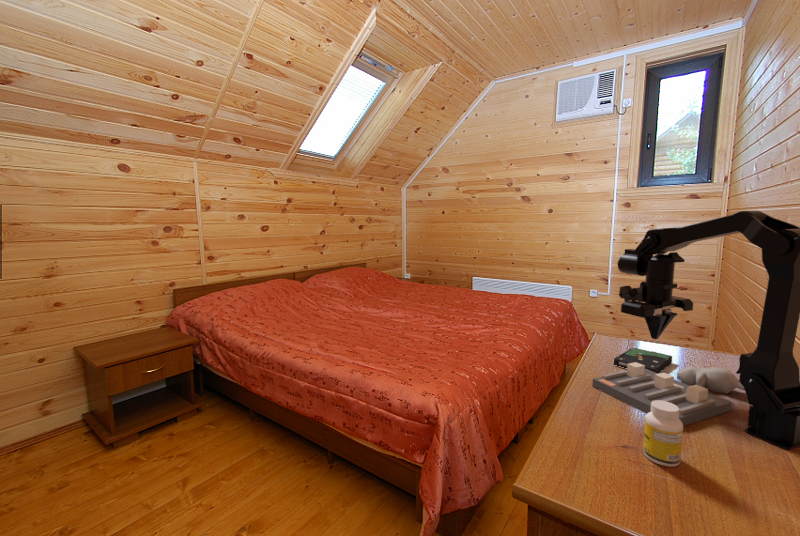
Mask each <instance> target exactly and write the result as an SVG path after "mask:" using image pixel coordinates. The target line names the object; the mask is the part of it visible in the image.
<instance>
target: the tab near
mask: <svg viewBox="0 0 800 536" xmlns="http://www.w3.org/2000/svg"><path fill="white" fill-rule="evenodd" d="M708 393H709V389H707V388H703V387H701V386H698V385H693V386H689V387H687V393H686V400H687V401H689V402H692V403H694V404H697V403H700V402H704V401H707V396H708Z"/></svg>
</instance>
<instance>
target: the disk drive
mask: <svg viewBox="0 0 800 536" xmlns="http://www.w3.org/2000/svg"><path fill="white" fill-rule="evenodd" d="M634 362H637V363H639V364H642V365H645V369H648V370H650V371H653V372H656V373H658V374H660V373H662V371H664V370H665V369H666V368H668V367H669V366H671V364H673V355H669V354H665V353H660V352H657V351H650V350H646V349H641V348H638V347H632V348H630V349H628V350H626V351H624V352H623V353H621V354H619V355H617V356H615V358H613V366H614V365H617V366H621V367H624V368H627V364H629V363H634ZM617 366H616V367H617ZM624 368H623V369H624Z"/></svg>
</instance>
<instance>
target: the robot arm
mask: <svg viewBox="0 0 800 536" xmlns="http://www.w3.org/2000/svg"><path fill="white" fill-rule="evenodd" d="M740 233H741V234H742V235H743V236H744V237H745V239H747V241H749V242H750V243H751V244H753V245H755V246H756V247H758V248H760V249H761V261H762V264H763V267H764V269H765V271H766V272H767V275H768V279H767V286H766V287H767V288H766V290H765V291H766V292H765V298H764V304H763V309H762V316H761V322H760V326H759V332H758V338H757V342H756V348H755V349H754V350H753V352H749V353H742V354H740V356H739V359H738V360H739V366H738V369H737V370H736V372H735V373H736V375H739V376H738V378H739V379H740V383H741V385H743V386H744V389H745V396H746V398H747V402H748V404H749V405H751V406H749V409H748V417H747V426H748V427H746V428H745V429H744V432H746V433H747V434H750V435H752V436H754V437H757V438H760V439H762V440H764V441H766V442H769V443H771V444H773V445H775V446H777V447H780V448H783V449H784V450H788V451H789V450H792V449H795V448H796V447H799V446H800V367H799V365H798V362H797V360H796V359H795V357H794V353H793V352H794V347H795V343H796V342H795V341H796V337H797V330H798V326H799V319H800V226H797V225H795V224H793V223H790V222H787V221H784V220H782V219H778V218H776V217H773V216H771V215H768V214H767V213H765V212H763V211H760V210H743V211H742V210H740V211H738V212H736V213H733V214H729V215H726V216H721V217H717V218H713V219H710V220H705V221H701V222H697V223H692V224H689V225H685V226H681V227H680V226H678V227H667V228H666V227H665V228H664V227H663V228H662V227H661V228H651V229H649V230H647V231H646V233H645V235H644V238H643V239H642V240H641V241H640V243H639V244H638V245H637V247H635V248H625V249H624V253H623V254H621V256H620V257H619V258H618V261H617V268H618V271H620V273H623V274H628V275H633V276H641V277H645V281H641V282H640V283H639V287H638V286H637V287H634V288H633V287H631V285H623V286H620V287H619V292H618V296H619V297H620V299H623V300H624V302H622V303H621V304H620V313H623V314H626V315H630V316H634V317H639V318H644V320H645V322H646V325H647V328H648V329H647V330H648V331H649V335H650V338H651V339H652V340H659V337H661V335H662V333H664V331H665V329H666V328H667V327H668V326H669V324H670V323H671V322H672V321H673V320H674V319H675V317H676V316H678V313H676V312H674V311H673V310H672V308H677V309H679V308H680V309H682V310H683V312H689V311H693V310H694V302H693V301H692V300H691V298H688V297H687V298H686V297H681V296H675V295H673V291H674V290H673V289H677V288H678V283H675V282H674V278H675V277H674V275H675V265H676V263H685V261H686V260H685V259H684V258H683V257H682V256H681V255H680V254H679V253H678V252H677V251H678V250H681V249H683V248H686V247H688V246H689V245H691V244H694V243H695V242H701V241H706V240H712V239H715V238H721V237H725V236H731V235H735V234H736V235H737V234H740ZM668 252H669V253H668ZM667 253H668V254H667Z"/></svg>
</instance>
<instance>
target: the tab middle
mask: <svg viewBox="0 0 800 536" xmlns="http://www.w3.org/2000/svg"><path fill="white" fill-rule="evenodd" d="M674 380H675V376H674V375H671V374H668V373H666V372H660V373H659V374H655V380H654V387H656V388H658V389H661V390H663V389H667V388H670V387H673V383H674Z"/></svg>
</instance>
